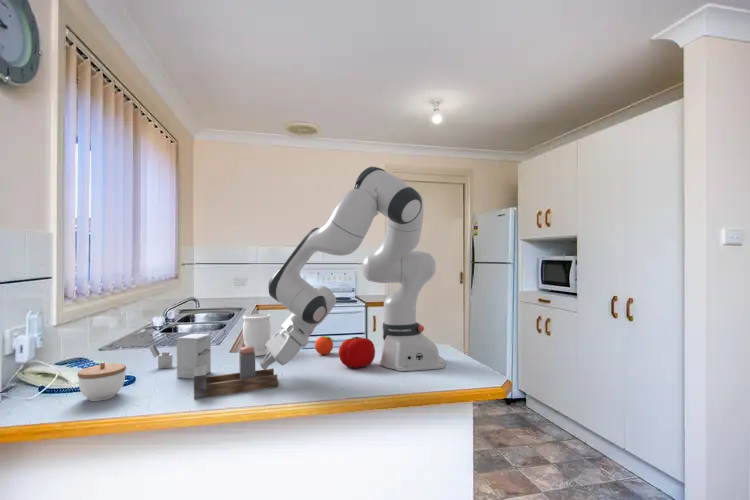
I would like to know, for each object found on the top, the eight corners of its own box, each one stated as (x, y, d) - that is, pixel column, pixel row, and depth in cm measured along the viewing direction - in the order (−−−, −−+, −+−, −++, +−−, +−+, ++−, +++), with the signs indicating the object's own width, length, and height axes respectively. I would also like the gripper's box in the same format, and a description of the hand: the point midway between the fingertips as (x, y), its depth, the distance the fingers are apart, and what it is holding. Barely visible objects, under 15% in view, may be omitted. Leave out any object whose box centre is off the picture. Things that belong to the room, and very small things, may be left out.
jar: (266, 357, 144) (265, 317, 145) (238, 357, 145) (238, 317, 145) (274, 350, 155) (273, 313, 155) (248, 350, 155) (248, 313, 156)
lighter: (172, 366, 134) (172, 343, 135) (170, 367, 133) (170, 344, 133) (151, 367, 134) (151, 344, 134) (148, 368, 132) (148, 345, 132)
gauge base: (272, 377, 121) (272, 357, 121) (278, 386, 111) (277, 365, 111) (195, 387, 112) (195, 366, 112) (194, 398, 103) (193, 376, 103)
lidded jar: (75, 397, 105) (75, 363, 105) (121, 387, 113) (121, 355, 113) (81, 408, 98) (81, 370, 98) (130, 396, 105) (130, 362, 105)
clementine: (338, 352, 150) (338, 334, 150) (331, 357, 143) (331, 338, 143) (319, 351, 152) (319, 333, 152) (312, 356, 145) (311, 337, 145)
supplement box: (197, 379, 120) (196, 338, 120) (176, 378, 121) (175, 337, 121) (211, 372, 127) (211, 333, 127) (191, 371, 128) (191, 333, 129)
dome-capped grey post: (253, 376, 116) (253, 345, 116) (255, 381, 111) (255, 349, 111) (239, 378, 114) (239, 346, 114) (240, 383, 110) (240, 350, 110)
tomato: (380, 368, 129) (379, 337, 129) (343, 372, 124) (343, 340, 124) (368, 359, 139) (368, 331, 139) (334, 364, 134) (334, 334, 134)
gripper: (281, 319, 127) (250, 352, 123) (293, 329, 108) (258, 369, 104) (294, 332, 129) (264, 365, 125) (309, 344, 110) (275, 383, 106)
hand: (261, 367), depth 114 cm, fingers closed
